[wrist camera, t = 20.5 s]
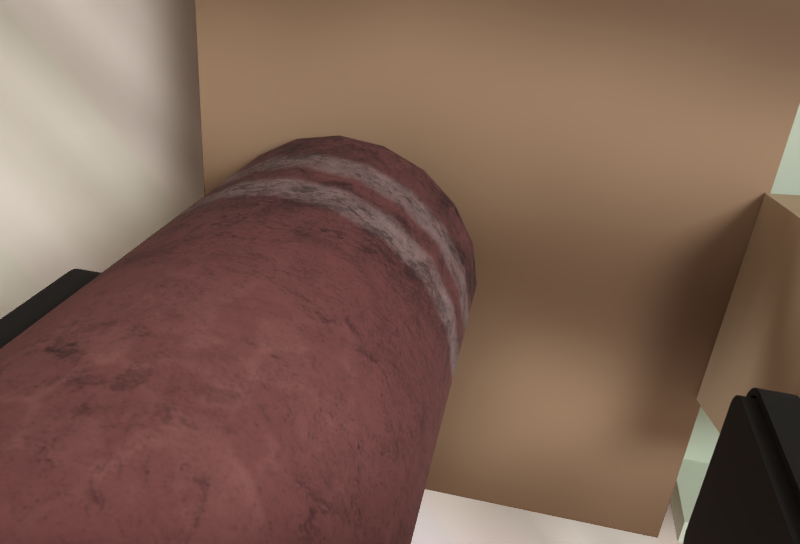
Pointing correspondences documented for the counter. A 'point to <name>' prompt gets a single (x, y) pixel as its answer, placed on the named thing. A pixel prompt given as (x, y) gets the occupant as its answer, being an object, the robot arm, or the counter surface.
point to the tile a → (760, 315)
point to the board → (544, 203)
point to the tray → (792, 178)
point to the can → (248, 365)
